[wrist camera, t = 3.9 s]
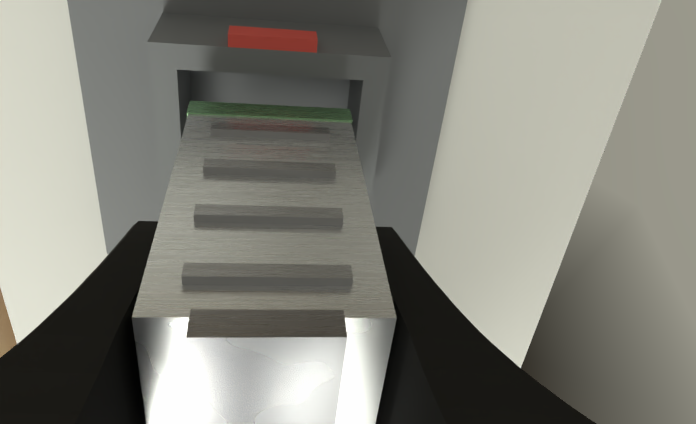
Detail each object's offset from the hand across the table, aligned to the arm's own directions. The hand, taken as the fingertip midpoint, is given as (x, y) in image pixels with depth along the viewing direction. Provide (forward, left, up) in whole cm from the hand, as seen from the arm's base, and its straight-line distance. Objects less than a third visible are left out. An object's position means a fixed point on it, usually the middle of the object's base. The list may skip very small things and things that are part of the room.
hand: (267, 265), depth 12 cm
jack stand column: (0, 0, -3) cm, 3 cm away
